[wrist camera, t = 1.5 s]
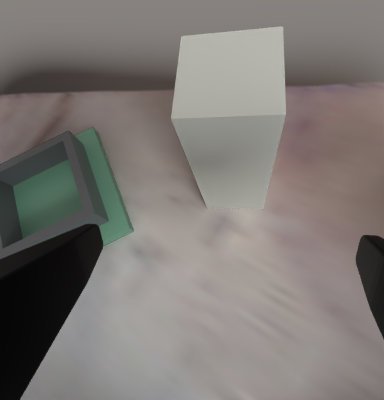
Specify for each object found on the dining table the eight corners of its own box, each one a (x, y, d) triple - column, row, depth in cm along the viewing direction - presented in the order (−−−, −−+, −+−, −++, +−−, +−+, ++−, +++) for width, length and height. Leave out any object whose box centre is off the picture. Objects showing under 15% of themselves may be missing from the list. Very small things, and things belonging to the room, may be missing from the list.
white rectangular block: (262, 209, 23) (286, 114, 11) (207, 208, 24) (170, 118, 12) (262, 158, 24) (282, 24, 12) (210, 158, 25) (181, 34, 13)
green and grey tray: (133, 231, 24) (116, 221, 21) (15, 288, 24) (-20, 288, 21) (97, 132, 29) (79, 111, 25) (-3, 181, 29) (-34, 167, 26)
